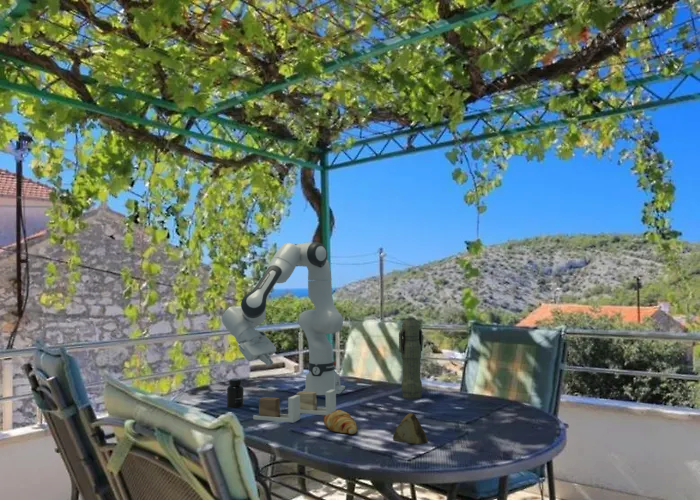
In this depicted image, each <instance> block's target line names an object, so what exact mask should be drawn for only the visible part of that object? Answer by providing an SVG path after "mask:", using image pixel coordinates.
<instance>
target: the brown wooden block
mask: <svg viewBox="0 0 700 500" xmlns="http://www.w3.org/2000/svg"><path fill="white" fill-rule="evenodd" d="M280 414H281V398H280V397H269V396H263V397H261V398H258V416H269V417H280Z"/></svg>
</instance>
